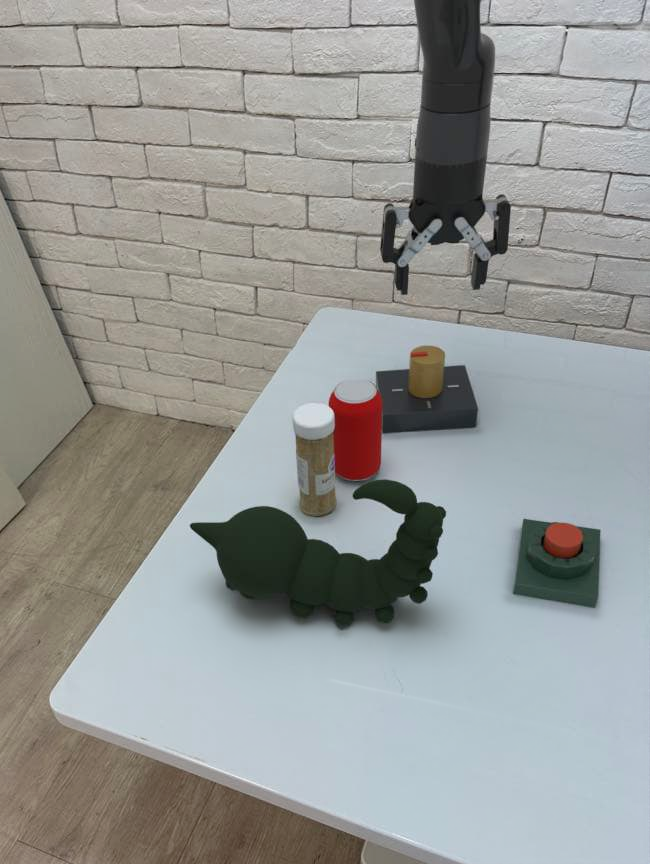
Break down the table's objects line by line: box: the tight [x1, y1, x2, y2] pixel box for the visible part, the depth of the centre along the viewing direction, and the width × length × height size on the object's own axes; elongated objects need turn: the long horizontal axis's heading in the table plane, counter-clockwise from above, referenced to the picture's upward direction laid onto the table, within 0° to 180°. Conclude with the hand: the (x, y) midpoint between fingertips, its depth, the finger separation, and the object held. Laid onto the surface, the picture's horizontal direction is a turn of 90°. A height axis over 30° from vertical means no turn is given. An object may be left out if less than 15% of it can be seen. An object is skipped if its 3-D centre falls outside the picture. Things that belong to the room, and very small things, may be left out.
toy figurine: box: [189, 479, 447, 628], centre depth 80 cm, size 9×19×25 cm
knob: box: [408, 344, 446, 398], centre depth 104 cm, size 4×4×6 cm
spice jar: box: [292, 402, 337, 517], centre depth 92 cm, size 5×5×14 cm
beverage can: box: [328, 378, 383, 482], centre depth 96 cm, size 6×6×12 cm
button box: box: [512, 518, 601, 608], centre depth 84 cm, size 10×8×4 cm
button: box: [543, 522, 583, 558], centre depth 83 cm, size 4×4×2 cm
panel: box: [375, 364, 479, 434], centre depth 107 cm, size 12×10×3 cm
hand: (439, 289), depth 97 cm, fingers open, 8 cm apart
